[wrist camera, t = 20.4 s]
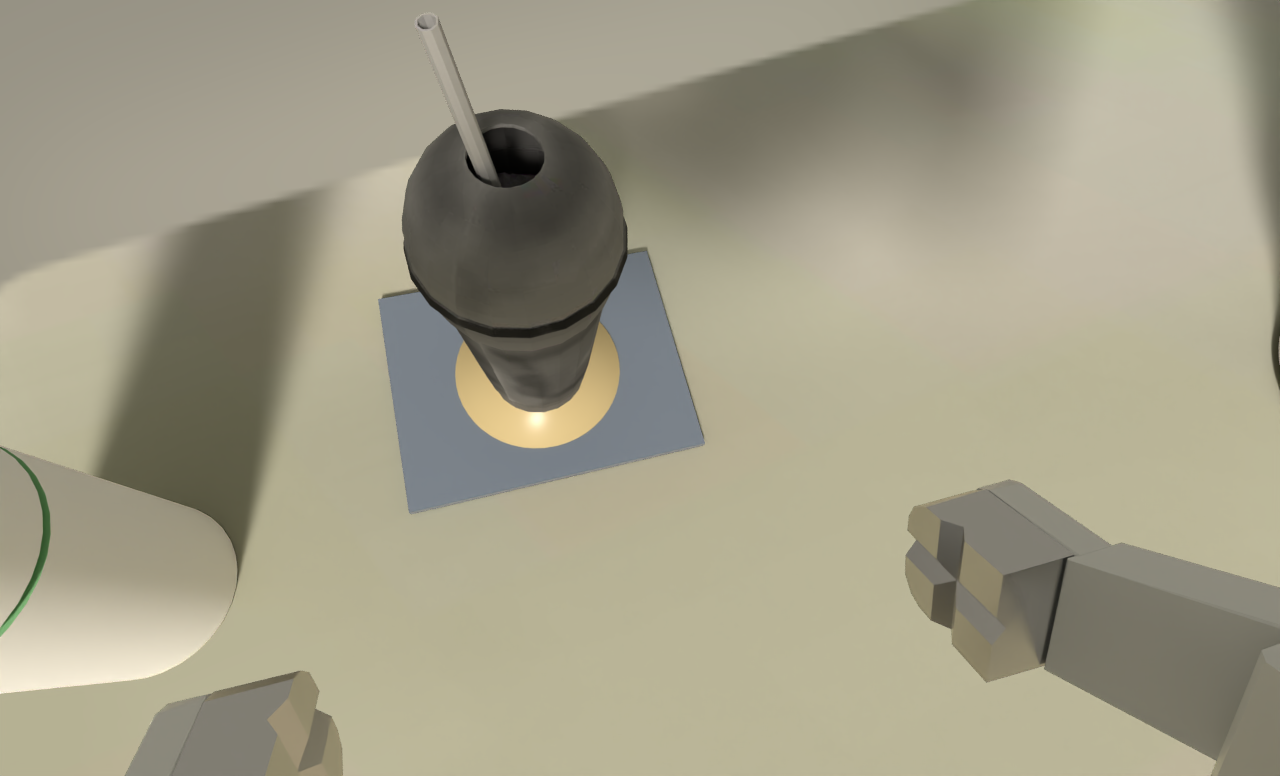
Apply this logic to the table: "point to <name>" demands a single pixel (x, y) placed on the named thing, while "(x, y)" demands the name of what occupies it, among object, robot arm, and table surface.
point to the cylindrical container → (101, 578)
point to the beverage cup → (513, 239)
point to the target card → (534, 441)
